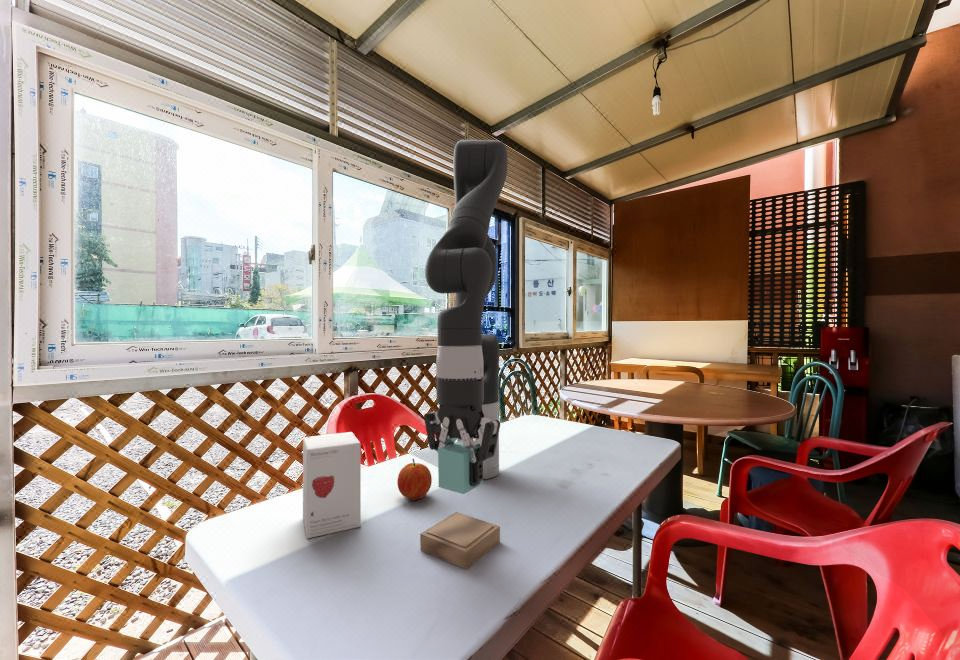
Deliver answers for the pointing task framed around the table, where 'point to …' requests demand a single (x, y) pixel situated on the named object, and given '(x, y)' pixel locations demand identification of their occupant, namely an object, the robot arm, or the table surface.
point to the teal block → (454, 468)
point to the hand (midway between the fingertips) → (461, 480)
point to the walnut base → (460, 539)
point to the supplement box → (331, 483)
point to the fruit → (414, 480)
